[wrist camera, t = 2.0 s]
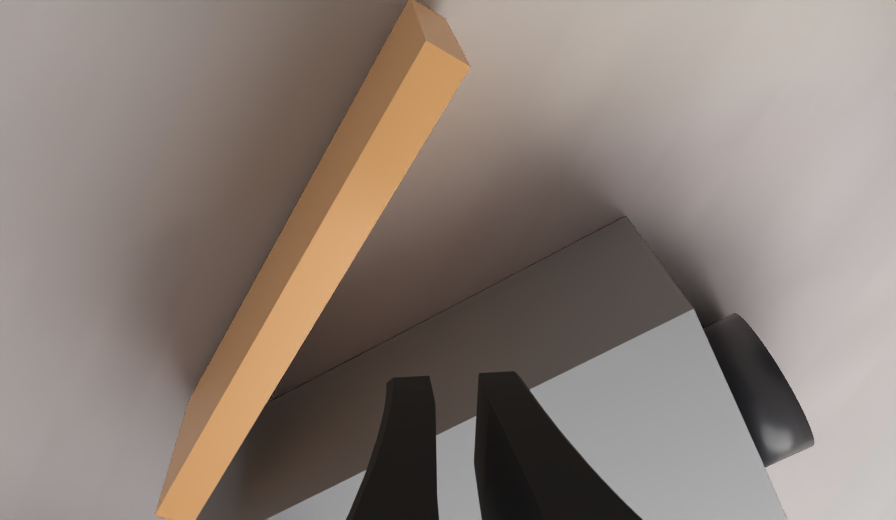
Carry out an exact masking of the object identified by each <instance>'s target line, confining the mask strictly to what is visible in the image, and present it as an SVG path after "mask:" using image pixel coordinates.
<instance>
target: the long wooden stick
mask: <svg viewBox="0 0 896 520" xmlns="http://www.w3.org/2000/svg"><path fill="white" fill-rule="evenodd" d="M469 69H470V65H469V63H468V61H467V59H466V57H465V55H464V53H463V51H462V49H461V47H460V46H459V44H458V42H457V40H456V38H455V36H454V34H453V32H452V30H451V28H450V26H449V25H448V23H447V21H446V19H445V18H444V17H442V16H440V15H439V14H437V13H436V12H434V11H432V10H431V9H429V8H427V7H426V6H424V5H422V4H421V3H419V2H417V1H416V0H408V2H407V4H406V6H405V7H404V9H403V11H402V13H401V15H400V16H399V18H398V20H397V22H396V24H395V26H394V27H393V29H392V31H391V33H390V35H389V37H388V38H387V40H386V42H385V44H384V46H383V47H382V49H381V51H380V53H379V55H378V57H377V58H376V60H375V62H374V64H373V66H372V67H371V69H370V71H369V73H368V75H367V77H366V78H365V80H364V82H363V84H362V86H361V88H360V89H359V91H358V93H357V95H356V97H355V98H354V100H353V102H352V104H351V106H350V108H349V109H348V111H347V113H346V115H345V117H344V119H343V120H342V122H341V124H340V126H339V128H338V129H337V131H336V133H335V135H334V137H333V139H332V140H331V142H330V144H329V146H328V148H327V150H326V151H325V153H324V155H323V157H322V159H321V160H320V162H319V164H318V166H317V168H316V170H315V171H314V173H313V175H312V177H311V179H310V181H309V182H308V184H307V186H306V188H305V190H304V191H303V193H302V195H301V197H300V199H299V201H298V202H297V204H296V206H295V208H294V210H293V211H292V213H291V215H290V217H289V219H288V221H287V222H286V224H285V226H284V228H283V230H282V232H281V233H280V235H279V237H278V239H277V241H276V242H275V244H274V246H273V248H272V250H271V252H270V253H269V255H268V257H267V259H266V261H265V263H264V264H263V266H262V268H261V270H260V272H259V273H258V275H257V277H256V279H255V281H254V283H253V284H252V286H251V288H250V290H249V292H248V294H247V295H246V297H245V299H244V301H243V303H242V304H241V306H240V308H239V310H238V312H237V314H236V315H235V317H234V319H233V321H232V323H231V324H230V326H229V328H228V330H227V332H226V334H225V335H224V337H223V339H222V341H221V343H220V345H219V346H218V348H217V350H216V352H215V354H214V355H213V357H212V359H211V361H210V363H209V365H208V366H207V368H206V370H205V372H204V374H203V376H202V377H201V379H200V381H199V383H198V385H197V386H196V388H195V390H194V392H193V394H192V396H191V397H190V399H189V401H188V404H187V408H186V411H185V414H184V418H183V421H182V425H181V428H180V431H179V435H178V438H177V441H176V445H175V448H174V452H173V455H172V458H171V462H170V465H169V468H168V472H167V475H166V478H165V482H164V485H163V489H162V492H161V495H160V499H159V502H158V505H157V509H156V512H155V516H159V517H162V518H165V519H169V520H196V518H197V517H198V515H199V513H200V512H201V510H202V508H203V507H204V505H205V503H206V502H207V500H208V498H209V497H210V495H211V494H212V492H213V490H214V489H215V487H216V485H217V484H218V482H219V480H220V479H221V477H222V475H223V474H224V472H225V470H226V469H227V467H228V466H229V464H230V462H231V461H232V459H233V457H234V456H235V454H236V452H237V451H238V449H239V447H240V446H241V444H242V442H243V441H244V439H245V438H246V436H247V434H248V433H249V431H250V429H251V428H252V426H253V424H254V423H255V421H256V419H257V418H258V416H259V414H260V413H261V411H262V410H263V408H264V406H265V405H266V403H267V401H268V400H269V398H270V396H271V395H272V393H273V391H274V390H275V388H276V386H277V385H278V383H279V382H280V380H281V378H282V377H283V375H284V373H285V372H286V370H287V368H288V367H289V365H290V363H291V362H292V360H293V358H294V357H295V355H296V354H297V352H298V350H299V349H300V347H301V345H302V344H303V342H304V340H305V339H306V337H307V335H308V334H309V332H310V330H311V329H312V327H313V326H314V324H315V322H316V321H317V319H318V317H319V316H320V314H321V312H322V311H323V309H324V307H325V306H326V304H327V302H328V301H329V299H330V298H331V296H332V294H333V293H334V291H335V289H336V288H337V286H338V284H339V283H340V281H341V279H342V278H343V276H344V274H345V273H346V271H347V269H348V268H349V266H350V265H351V263H352V261H353V260H354V258H355V256H356V255H357V253H358V251H359V250H360V248H361V246H362V245H363V243H364V241H365V240H366V238H367V237H368V235H369V233H370V232H371V230H372V228H373V227H374V225H375V223H376V222H377V220H378V218H379V217H380V215H381V213H382V212H383V210H384V209H385V207H386V205H387V204H388V202H389V200H390V199H391V197H392V195H393V194H394V192H395V190H396V189H397V187H398V185H399V184H400V182H401V181H402V179H403V177H404V176H405V174H406V172H407V171H408V169H409V167H410V166H411V164H412V162H413V161H414V159H415V157H416V156H417V154H418V153H419V151H420V149H421V148H422V146H423V144H424V143H425V141H426V139H427V138H428V136H429V134H430V133H431V131H432V129H433V128H434V126H435V125H436V123H437V121H438V120H439V118H440V116H441V115H442V113H443V111H444V110H445V108H446V106H447V105H448V103H449V101H450V100H451V98H452V97H453V95H454V93H455V92H456V90H457V88H458V87H459V85H460V83H461V82H462V80H463V78H464V77H465V75H466V73H467V72H468V70H469Z"/></svg>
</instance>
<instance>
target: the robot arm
mask: <svg viewBox="0 0 896 520" xmlns="http://www.w3.org/2000/svg"><path fill="white" fill-rule="evenodd" d="M474 468H475V476H476V483H477V490H478V497H479V504H480V511H481V518H482V520H643V519H642V518H641V517H640V516H638V515H637V514H636V513H635V512H634V511H633V510H632V509H631V508H630V507H629V506H628V505H627V504H626V503H625V502H624V501H623V500H622V499H621V498H620V497H619V496H618V495H617V494H616V493H615V492H614V491H613V490H612V489H611V487H610V486H609V485H608V484H607V483H606V482H605V481H604V480H603V479H602V478H601V477H600V476H599V475H598V474H597V473H596V472H595V470H594V469H593V468H592V467H591V466H590V465H589V464H588V463H587V462H586V460H585V459H584V458H583V457H582V456H581V454H580V453H579V452H578V451H577V450H576V449H575V447H574V446H573V445H572V444H571V443H570V442H569V440H568V439H567V438H566V437H565V436H564V434H563V433H562V432H561V431H560V430H559V428H558V427H557V426H556V425H555V423H554V422H553V421H552V419H551V418H550V417H549V415H548V414H547V413H546V412H545V410H544V409H543V408H542V406H541V405H540V404H539V402H538V401H537V400H536V398H535V397H534V395H533V394H532V393H531V391H530V390H529V388H528V387H527V386H526V384H525V383H524V381H523V380H522V378H521V377H520V376H519V375H518V374H517V373H516V372H515V371H507V372H489V373H479V376H478V394H477V412H476V430H475V448H474ZM346 520H439V512H438V499H437V456H436V404H435V399H434V394H433V389H432V385H431V381H430V376H413V377H394V378H392V379H391V380H390V381H388V382H387V383H386V399H385V406H384V412H383V416H382V421H381V424H380V428H379V432H378V436H377V439H376V442H375V445H374V448H373V452H372V455H371V458H370V461H369V464H368V467H367V470H366V472H365V475H364V478H363V480H362V483H361V485H360V487H359V490H358V492H357V495H356V497H355V500H354V502H353V504H352V507H351V509H350V512H349V514H348V516H347V518H346Z"/></svg>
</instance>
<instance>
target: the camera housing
mask: <svg viewBox="0 0 896 520" xmlns="http://www.w3.org/2000/svg"><path fill="white" fill-rule="evenodd" d="M507 371H515V372H516V373H517V374H518V375H519V376H520V377H521V378H522V380H523V381H524V383H525V384H526V386H527V387H528V388H529V390H530V391H531V393H532V394H533V395H534V397H535V398H536V400H537V401H538V402H539V404H540V405H541V406H542V408H543V409H544V410H545V412H546V413H547V414H548V415H549V417H550V418H551V419H552V421H553V422H554V423H555V425H556V426H557V427H558V428H559V430H560V431H561V432H562V433H563V434H564V436H565V437H566V438H567V439H568V440H569V442H570V443H571V444H572V445H573V446H574V447H575V449H576V450H577V451H578V452H579V453H580V454H581V456H582V457H583V458H584V459H585V460H586V462H587V463H588V464H589V465H590V466H591V467H592V468H593V469H594V470H595V472H596V473H597V474H598V475H599V476H600V477H601V478H602V479H603V480H604V481H605V482H606V483H607V484H608V485H609V486H610V487H611V489H612V490H613V491H614V492H615V493H616V494H617V495H618V496H619V497H620V498H621V499H622V500H623V501H624V502H625V503H626V504H627V505H628V506H629V507H630V508H631V509H632V510H633V511H634V512H635V513H636V514H637V515H638V516H640V517H641V518H642V519H643V520H788V518H787V516H786V514H785V511H784V509H783V507H782V505H781V502H780V500H779V498H778V496H777V494H776V491H775V489H774V487H773V485H772V482H771V480H770V478H769V476H768V473H767V471H766V469H765V467H767V466H769V465H771V464H774V463H776V462H778V461H780V460H783V459H785V458H787V457H789V456H792V455H794V454H796V453H798V452H800V451H803V450H805V449H807V448H809V447H812V446H813V445H814V438H813V434H812V431H811V428H810V426H809V423H808V421H807V419H806V416H805V414H804V412H803V410H802V408H801V406H800V404H799V402H798V400H797V398H796V396H795V395H794V393H793V391H792V389H791V387H790V385H789V384H788V382H787V380H786V379H785V377H784V375H783V374H782V372H781V370H780V369H779V367H778V365H777V364H776V362H775V361H774V359H773V358H772V356H771V355H770V353H769V352H768V350H767V349H766V347H765V346H764V344H763V343H762V341H761V340H760V339H759V337H758V336H757V335H756V333H755V332H754V331H753V330H752V328H751V327H750V326H749V325H748V324H747V323H746V321H745V320H744V319H743V318H742V317H740V316H739V315H738V314H736V313H734V314H732V315H730V316H728V317H726V318H724V319H722V320H720V321H717V322H715V323H713V324H711V325H709V326H707V327H705V328H702V326H701V324H700V321H699V319H698V317H697V315H696V312H695V310H694V308H693V307H692V305H691V304H690V303H689V301H688V300H687V299H686V297H685V296H684V295H683V293H682V292H681V290H680V289H679V288H678V286H677V285H676V284H675V282H674V281H673V279H672V278H671V277H670V275H669V274H668V273H667V271H666V270H665V269H664V267H663V266H662V264H661V263H660V262H659V260H658V259H657V258H656V256H655V255H654V253H653V252H652V251H651V249H650V248H649V247H648V245H647V244H646V243H645V241H644V240H643V238H642V237H641V236H640V234H639V233H638V232H637V230H636V229H635V227H634V226H633V225H632V223H631V222H630V221H629V219H628V218H627V217H626V216H625V217H623V218H621V219H619V220H617V221H615V222H613V223H611V224H610V225H608V226H606V227H604V228H602V229H600V230H598V231H596V232H594V233H592V234H590V235H588V236H587V237H585V238H583V239H581V240H579V241H577V242H575V243H573V244H571V245H569V246H567V247H565V248H564V249H562V250H560V251H558V252H556V253H554V254H552V255H550V256H548V257H546V258H544V259H542V260H541V261H539V262H537V263H535V264H533V265H531V266H529V267H527V268H525V269H523V270H521V271H519V272H518V273H516V274H514V275H512V276H510V277H508V278H506V279H504V280H502V281H500V282H498V283H496V284H495V285H493V286H491V287H489V288H487V289H485V290H483V291H481V292H479V293H477V294H475V295H474V296H472V297H470V298H468V299H466V300H464V301H462V302H460V303H458V304H456V305H454V306H452V307H451V308H449V309H447V310H445V311H443V312H441V313H439V314H437V315H435V316H433V317H431V318H429V319H428V320H426V321H424V322H422V323H420V324H418V325H416V326H414V327H412V328H410V329H408V330H406V331H405V332H403V333H401V334H399V335H397V336H395V337H393V338H391V339H389V340H387V341H385V342H383V343H382V344H380V345H378V346H376V347H374V348H372V349H370V350H368V351H366V352H364V353H362V354H360V355H359V356H357V357H355V358H353V359H351V360H349V361H347V362H345V363H343V364H341V365H339V366H337V367H336V368H334V369H332V370H330V371H328V372H326V373H324V374H322V375H320V376H318V377H316V378H314V379H313V380H311V381H309V382H307V383H305V384H303V385H301V386H299V387H297V388H295V389H293V390H291V391H290V392H288V393H286V394H284V395H282V396H280V397H278V398H276V399H274V400H272V401H270V402H269V403H267V404H266V405H265V406H264V408H263V410H262V411H261V413H260V414H259V416H258V418H257V419H256V421H255V423H254V424H253V426H252V428H251V429H250V431H249V433H248V434H247V436H246V438H245V439H244V441H243V442H242V444H241V446H240V447H239V449H238V451H237V452H236V454H235V456H234V457H233V459H232V461H231V462H230V464H229V466H228V467H227V469H226V470H225V472H224V474H223V475H222V477H221V479H220V480H219V482H218V484H217V485H216V487H215V489H214V490H213V492H212V494H211V495H210V497H209V498H208V500H207V502H206V503H205V505H204V507H203V508H202V510H201V512H200V513H199V515H198V517H197V518H196V520H346V518H347V516H348V514H349V512H350V509H351V507H352V504H353V502H354V500H355V497H356V495H357V492H358V490H359V487H360V485H361V483H362V480H363V478H364V475H365V472H366V470H367V467H368V464H369V461H370V458H371V455H372V452H373V448H374V445H375V442H376V439H377V436H378V432H379V428H380V424H381V421H382V416H383V412H384V406H385V399H386V383H387V382H388V381H390V380H391V379H392V378H394V377H413V376H430V381H431V385H432V389H433V394H434V399H435V404H436V456H437V499H438V512H439V520H482V518H481V511H480V504H479V497H478V490H477V483H476V476H475V468H474V448H475V430H476V412H477V394H478V376H479V373H489V372H507Z"/></svg>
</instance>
